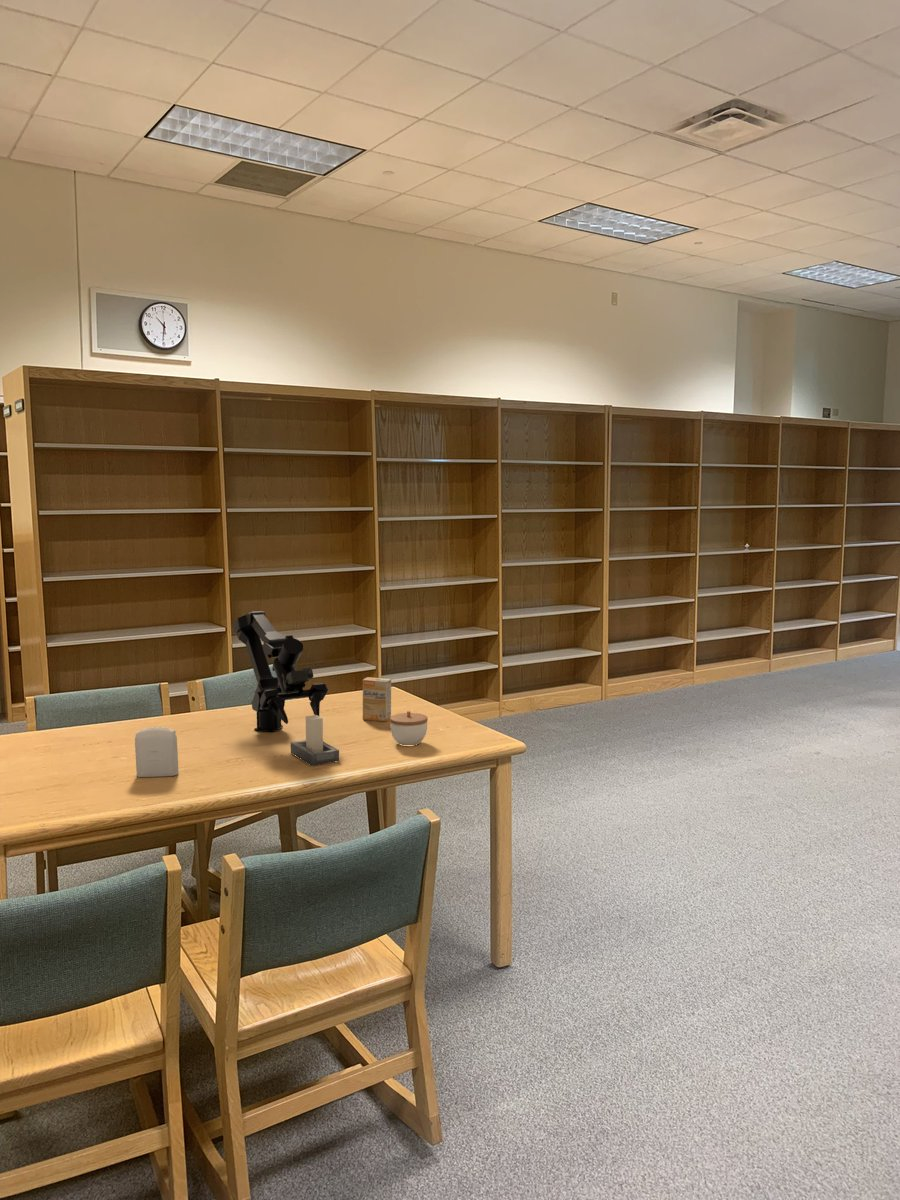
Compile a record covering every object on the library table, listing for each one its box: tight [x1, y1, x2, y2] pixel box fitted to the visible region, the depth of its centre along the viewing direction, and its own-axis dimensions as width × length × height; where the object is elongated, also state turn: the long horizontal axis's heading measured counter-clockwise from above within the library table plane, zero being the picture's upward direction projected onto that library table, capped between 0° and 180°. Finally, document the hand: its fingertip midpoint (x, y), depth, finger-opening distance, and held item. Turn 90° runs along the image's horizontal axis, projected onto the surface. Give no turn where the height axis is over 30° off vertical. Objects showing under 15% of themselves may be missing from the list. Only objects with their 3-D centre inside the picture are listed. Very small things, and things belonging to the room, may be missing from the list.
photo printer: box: [134, 726, 179, 778], centre depth 218 cm, size 10×4×12 cm, turn 96°
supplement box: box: [362, 676, 392, 722], centre depth 274 cm, size 8×5×13 cm, turn 73°
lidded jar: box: [389, 711, 429, 745], centre depth 247 cm, size 11×11×9 cm
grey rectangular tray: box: [289, 739, 340, 767], centre depth 235 cm, size 14×8×3 cm, turn 33°
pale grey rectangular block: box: [305, 715, 324, 753], centre depth 234 cm, size 4×3×10 cm
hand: (302, 720), depth 240 cm, fingers open, 9 cm apart
